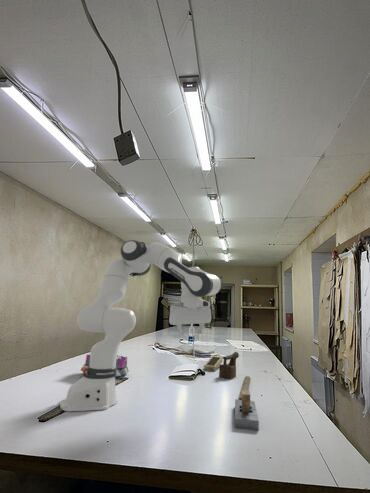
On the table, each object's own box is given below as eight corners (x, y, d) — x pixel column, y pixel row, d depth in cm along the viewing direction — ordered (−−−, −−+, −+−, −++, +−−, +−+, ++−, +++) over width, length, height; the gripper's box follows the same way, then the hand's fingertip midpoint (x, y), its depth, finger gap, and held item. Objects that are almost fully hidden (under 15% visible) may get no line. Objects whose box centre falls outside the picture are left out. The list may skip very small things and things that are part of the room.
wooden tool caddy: (242, 375, 184) (242, 352, 186) (230, 379, 171) (230, 355, 174) (230, 373, 188) (231, 351, 191) (218, 377, 176) (218, 353, 179)
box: (223, 363, 208) (222, 356, 208) (215, 376, 187) (214, 368, 187) (211, 362, 211) (211, 355, 211) (202, 375, 190) (202, 367, 190)
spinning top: (104, 382, 150) (108, 350, 155) (68, 374, 165) (73, 345, 169) (138, 378, 172) (141, 350, 176) (104, 371, 186) (108, 346, 190)
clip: (242, 419, 112) (242, 394, 114) (241, 414, 118) (241, 390, 119) (250, 420, 112) (250, 394, 114) (249, 415, 117) (249, 390, 119)
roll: (250, 381, 171) (250, 376, 171) (246, 405, 130) (246, 398, 131) (244, 381, 172) (244, 375, 172) (238, 404, 131) (238, 397, 131)
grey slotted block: (235, 427, 105) (235, 418, 105) (235, 406, 126) (235, 399, 127) (258, 430, 104) (258, 420, 104) (254, 408, 125) (254, 401, 125)
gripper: (173, 303, 127) (173, 337, 125) (213, 302, 137) (213, 333, 135) (166, 302, 132) (166, 335, 130) (205, 302, 142) (205, 332, 140)
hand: (190, 334), depth 133 cm, fingers open, 8 cm apart
